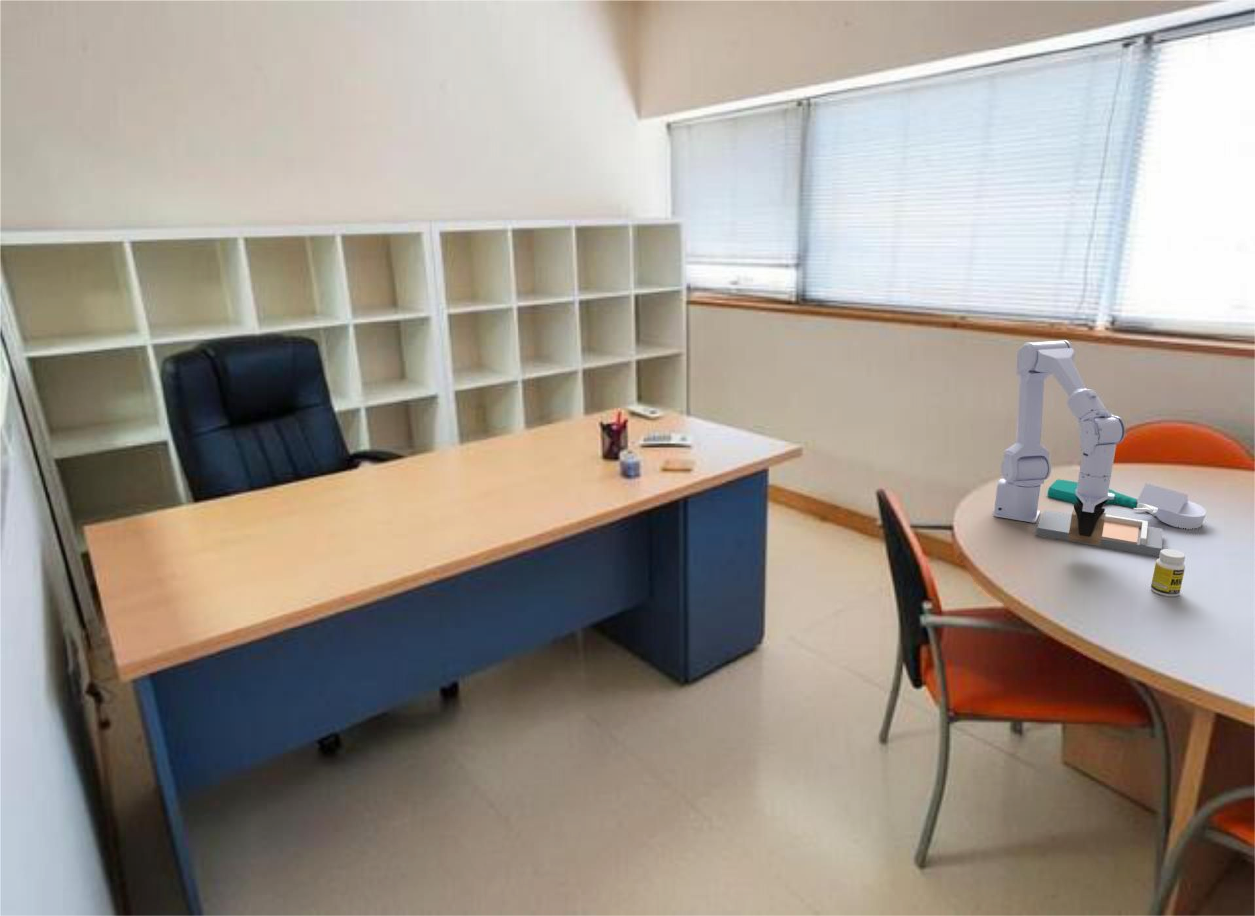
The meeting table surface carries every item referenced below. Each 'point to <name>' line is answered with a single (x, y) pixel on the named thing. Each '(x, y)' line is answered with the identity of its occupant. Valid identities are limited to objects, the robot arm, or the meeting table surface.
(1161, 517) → the wedge on round base
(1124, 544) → the frame
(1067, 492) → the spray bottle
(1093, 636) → the meeting table surface
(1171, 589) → the supplement bottle
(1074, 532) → the brown rectangular block
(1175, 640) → the meeting table surface
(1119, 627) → the meeting table surface
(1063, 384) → the robot arm
